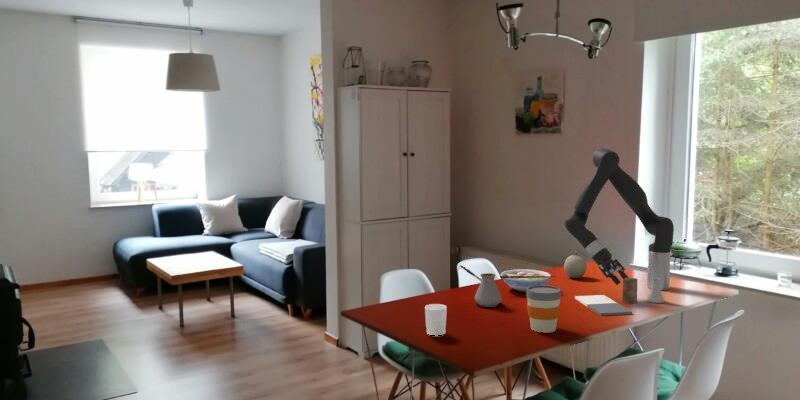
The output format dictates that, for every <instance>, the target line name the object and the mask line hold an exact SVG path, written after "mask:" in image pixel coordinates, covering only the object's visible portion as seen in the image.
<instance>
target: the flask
mask: <svg viewBox="0 0 800 400" xmlns="http://www.w3.org/2000/svg"><path fill="white" fill-rule="evenodd" d="M652 280H653V284H652V288H651V289H650V290H649V293H648V295H647V299H646V302H648V303H651V304H652V303H653V304H665V298H664V295H663V293H662V290H661V289H660V285H659V280H660V278H652Z"/></svg>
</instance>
